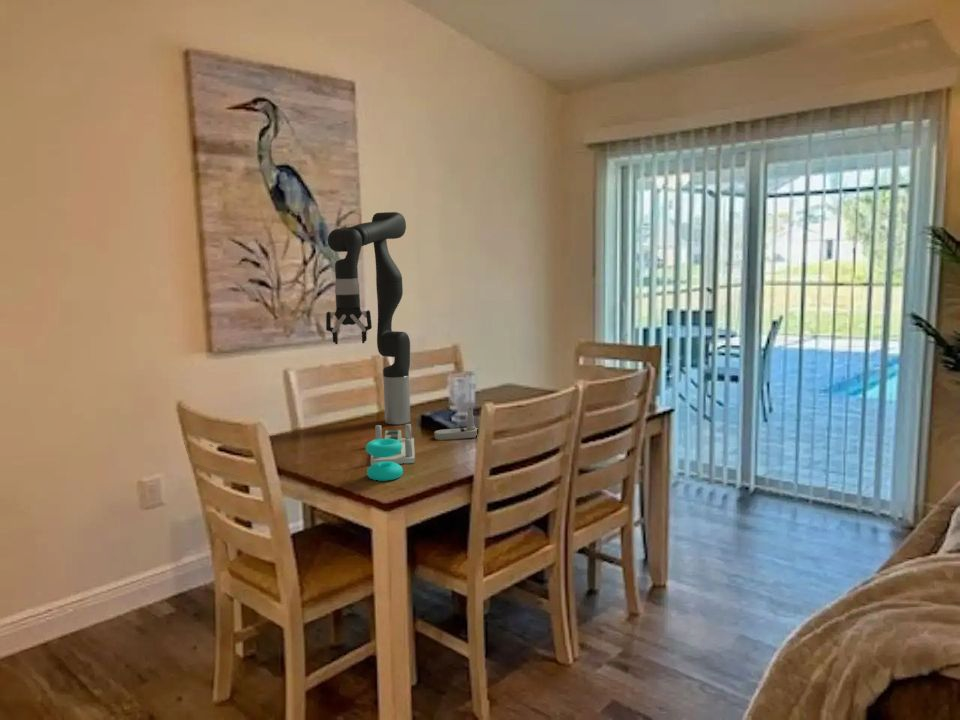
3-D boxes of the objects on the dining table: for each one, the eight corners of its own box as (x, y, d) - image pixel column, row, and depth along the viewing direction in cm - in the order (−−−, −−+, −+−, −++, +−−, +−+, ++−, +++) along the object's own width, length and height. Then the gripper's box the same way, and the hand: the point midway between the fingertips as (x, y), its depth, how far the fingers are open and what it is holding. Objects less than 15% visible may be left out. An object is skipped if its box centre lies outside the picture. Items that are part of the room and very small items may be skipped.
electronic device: (432, 409, 251) (477, 406, 253) (434, 437, 253) (478, 434, 254) (433, 413, 246) (478, 409, 247) (435, 441, 247) (480, 438, 249)
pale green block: (385, 442, 239) (385, 428, 238) (401, 442, 240) (401, 427, 239) (384, 454, 225) (384, 439, 225) (401, 454, 226) (400, 438, 225)
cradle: (373, 444, 244) (373, 424, 243) (413, 442, 245) (413, 422, 244) (370, 465, 220) (369, 443, 219) (415, 462, 222) (414, 441, 221)
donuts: (406, 437, 211) (395, 447, 202) (407, 472, 213) (397, 483, 203) (372, 436, 213) (360, 446, 203) (373, 470, 215) (362, 481, 205)
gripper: (370, 291, 242) (372, 341, 245) (325, 292, 241) (328, 342, 243) (369, 293, 235) (371, 344, 237) (323, 294, 233) (326, 345, 236)
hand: (349, 343), depth 240 cm, fingers open, 8 cm apart
